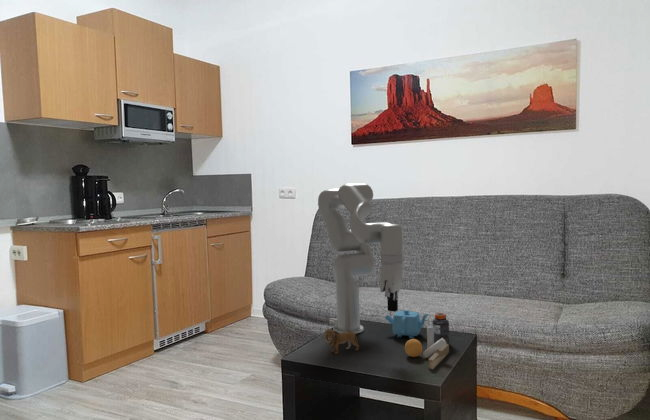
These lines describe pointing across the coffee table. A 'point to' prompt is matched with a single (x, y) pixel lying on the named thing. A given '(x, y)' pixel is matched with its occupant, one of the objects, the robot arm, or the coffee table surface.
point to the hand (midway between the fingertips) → (392, 310)
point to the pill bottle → (441, 327)
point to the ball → (413, 347)
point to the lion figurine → (340, 339)
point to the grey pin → (430, 336)
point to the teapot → (406, 323)
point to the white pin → (434, 348)
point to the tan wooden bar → (438, 356)
